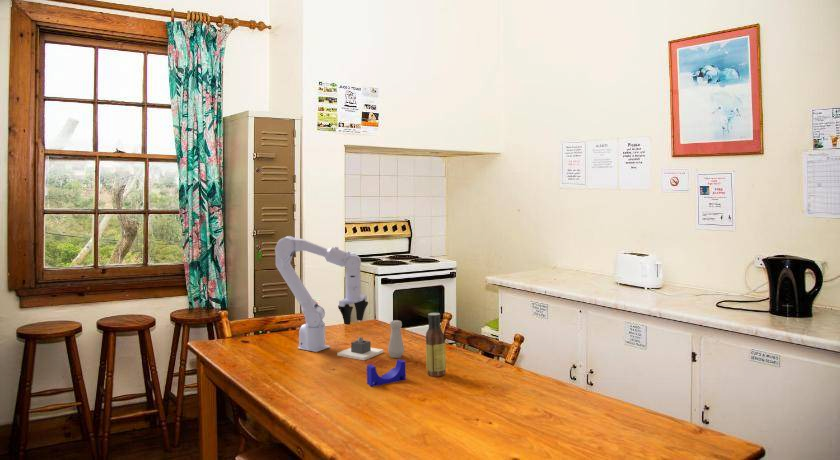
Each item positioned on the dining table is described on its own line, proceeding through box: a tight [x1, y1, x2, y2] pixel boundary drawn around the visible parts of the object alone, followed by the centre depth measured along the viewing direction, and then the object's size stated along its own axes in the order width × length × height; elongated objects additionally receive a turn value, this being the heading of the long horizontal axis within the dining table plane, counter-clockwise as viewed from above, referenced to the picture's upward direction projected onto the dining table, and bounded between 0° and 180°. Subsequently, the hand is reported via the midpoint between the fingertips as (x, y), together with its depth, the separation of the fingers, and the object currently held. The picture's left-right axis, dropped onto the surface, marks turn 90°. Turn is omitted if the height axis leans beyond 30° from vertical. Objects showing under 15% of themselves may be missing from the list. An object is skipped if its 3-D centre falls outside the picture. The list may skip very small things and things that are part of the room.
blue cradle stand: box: [366, 358, 407, 388], centre depth 178 cm, size 12×4×6 cm, turn 121°
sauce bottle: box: [425, 312, 447, 377], centre depth 184 cm, size 7×6×20 cm
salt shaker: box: [387, 319, 405, 359], centre depth 204 cm, size 6×6×13 cm
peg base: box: [336, 336, 384, 361], centre depth 208 cm, size 12×12×6 cm
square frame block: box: [350, 339, 372, 354], centre depth 208 cm, size 5×5×4 cm
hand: (353, 322), depth 215 cm, fingers open, 7 cm apart
